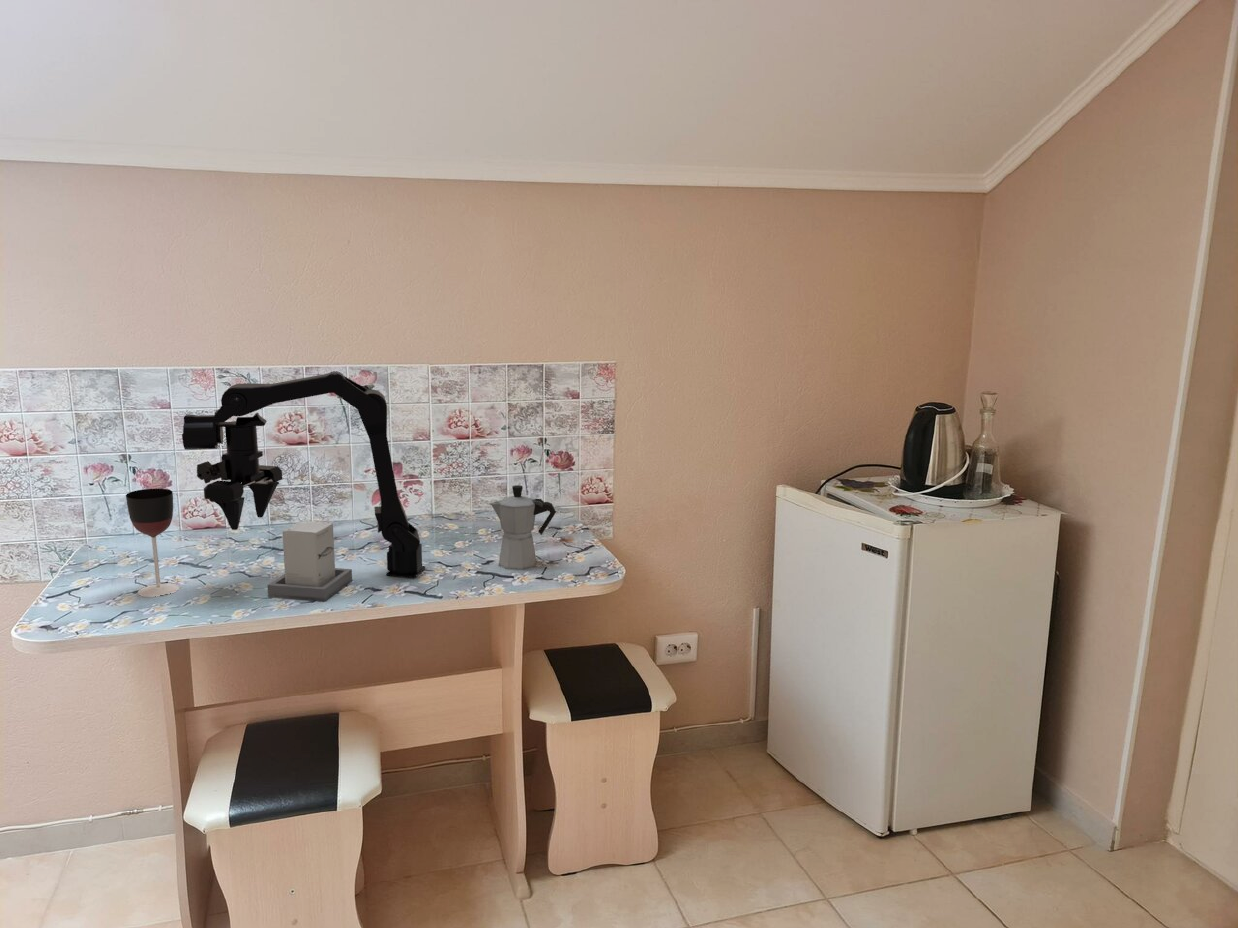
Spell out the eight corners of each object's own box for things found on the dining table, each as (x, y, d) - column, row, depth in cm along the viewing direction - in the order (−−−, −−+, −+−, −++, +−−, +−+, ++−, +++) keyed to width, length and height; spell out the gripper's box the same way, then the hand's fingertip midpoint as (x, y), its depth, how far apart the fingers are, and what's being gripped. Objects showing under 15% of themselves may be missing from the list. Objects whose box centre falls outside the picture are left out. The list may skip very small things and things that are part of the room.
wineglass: (169, 579, 179) (160, 486, 175) (188, 590, 174) (180, 493, 169) (128, 589, 173) (118, 493, 169) (147, 600, 168) (137, 501, 163)
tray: (352, 580, 181) (351, 569, 181) (325, 601, 169) (324, 589, 169) (298, 576, 183) (298, 565, 182) (268, 596, 171) (267, 584, 171)
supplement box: (318, 593, 172) (315, 532, 169) (284, 590, 173) (280, 529, 170) (337, 580, 179) (334, 522, 176) (304, 577, 180) (300, 519, 178)
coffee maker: (485, 569, 190) (485, 489, 186) (492, 556, 199) (492, 480, 195) (553, 571, 190) (553, 491, 186) (557, 558, 198) (558, 482, 194)
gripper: (232, 437, 182) (237, 508, 185) (174, 455, 164) (182, 533, 167) (281, 440, 180) (285, 512, 184) (229, 458, 162) (235, 537, 166)
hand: (247, 523), depth 175 cm, fingers open, 9 cm apart
